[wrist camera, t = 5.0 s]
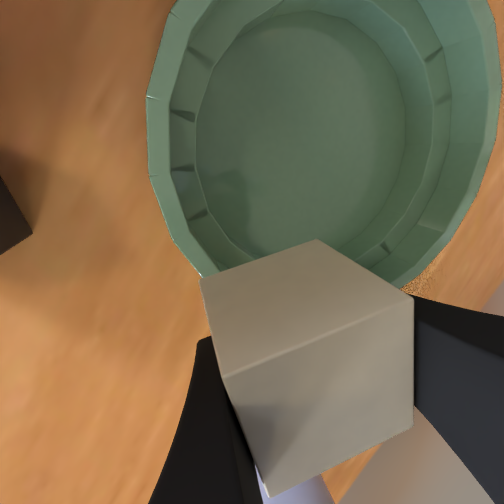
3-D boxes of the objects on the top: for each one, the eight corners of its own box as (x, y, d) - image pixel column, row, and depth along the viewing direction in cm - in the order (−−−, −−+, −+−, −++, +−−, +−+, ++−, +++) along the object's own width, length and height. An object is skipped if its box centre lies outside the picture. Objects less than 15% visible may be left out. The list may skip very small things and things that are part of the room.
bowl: (420, 240, 21) (481, 262, 17) (206, 317, 18) (218, 366, 14) (426, -54, 14) (529, -133, 10) (91, -4, 12) (52, -85, 8)
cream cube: (331, 332, 12) (415, 427, 8) (232, 373, 11) (269, 500, 7) (316, 237, 10) (415, 297, 6) (197, 279, 10) (221, 377, 5)
